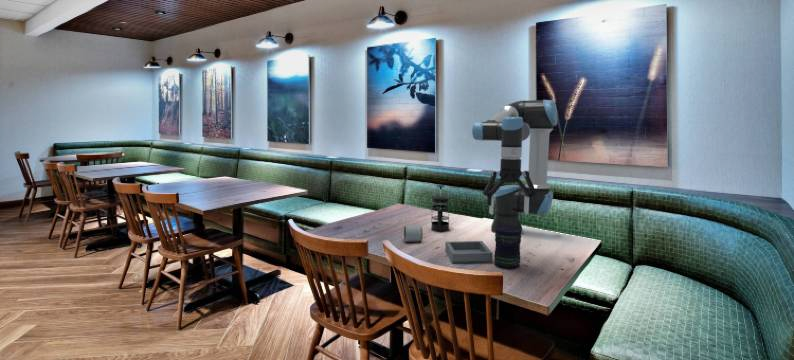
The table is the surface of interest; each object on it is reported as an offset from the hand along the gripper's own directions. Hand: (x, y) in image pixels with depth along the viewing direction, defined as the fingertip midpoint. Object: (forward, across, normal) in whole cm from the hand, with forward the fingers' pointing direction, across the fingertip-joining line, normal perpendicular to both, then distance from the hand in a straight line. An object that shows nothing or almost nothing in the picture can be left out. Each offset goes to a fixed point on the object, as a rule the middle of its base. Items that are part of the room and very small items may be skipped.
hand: (508, 213), depth 159 cm
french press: (+20, -18, +52) cm, 59 cm away
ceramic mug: (+21, -34, +35) cm, 53 cm away
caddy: (+21, -13, +11) cm, 27 cm away
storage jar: (+21, 0, 0) cm, 21 cm away
